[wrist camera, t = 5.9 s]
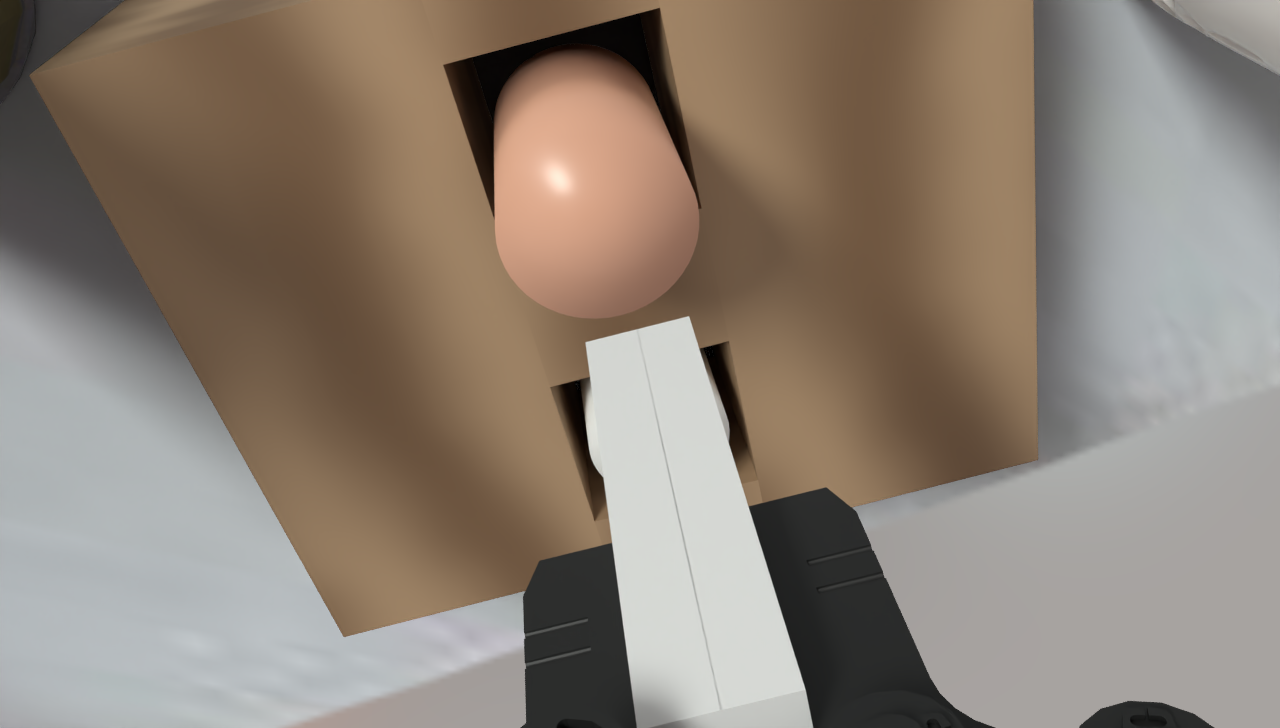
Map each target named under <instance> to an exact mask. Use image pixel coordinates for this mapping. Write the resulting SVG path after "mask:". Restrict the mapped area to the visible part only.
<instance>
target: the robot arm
mask: <svg viewBox="0 0 1280 728" xmlns="http://www.w3.org/2000/svg"><path fill="white" fill-rule="evenodd" d="M585 343H586V350H587V358H588V365H589V373H590V380H591V388H592V395H593V403H594V410H595V418H596V425H597V433H598V440H599V448H600V455H601V463H602V470H603V477H604V485H605V492H606V500H607V507H608V515H609V522H610V530H611V537H612V543H609V544H605V545H601V546H597V547H593V548H589V549H585V550H581V551H577V552H573V553H569V554H565V555H561V556H557V557H552V558H548V559H544V560H540V561H539V562H538V565H537V567H536V569H535V571H534V573H533V576H532V578H531V580H530V582H529V585H528V587H527V589H526V591H525V593H524V596H523V608H524V633H525V639H524V649H525V663H526V669H525V685H526V686H525V687H526V688H525V689H526V724H525V725H523V726H522V727H521V728H995V727H992V726H989V725H986V724H984V723H981V722H978V721H975V720H973V719H972V718H970V717H969V716H967V715H965V714H964V713H962V712H960V711H959V710H957V709H955V708H954V707H953V706H952V705H951V704H950V703H949V702H948V701H947V700H946V699H945V698H944V697H943V696H942V695H941V694H940V693H939V691H938V690H937V688H936V686H935V685H934V683H933V682H932V680H931V678H930V676H929V674H928V672H927V670H926V668H925V665H924V663H923V661H922V658H921V656H920V654H919V652H918V649H917V647H916V645H915V643H914V640H913V638H912V636H911V634H910V631H909V629H908V627H907V625H906V622H905V620H904V618H903V616H902V613H901V611H900V609H899V607H898V604H897V603H896V600H895V598H894V596H893V593H892V591H891V589H890V587H889V584H888V582H887V580H886V578H884V575H883V571H882V569H881V566H880V564H879V562H878V560H877V558H876V555H875V553H874V551H872V548H871V544H870V542H869V539H868V537H867V535H866V533H865V530H864V528H863V526H862V524H861V521H860V519H859V517H858V515H857V512H856V511H855V510H854V509H852V508H851V507H850V506H849V505H848V504H846V503H845V502H844V501H843V500H841V499H840V498H839V497H838V496H837V495H835V494H834V493H833V492H832V491H830V490H829V489H828V488H827V487H825V488H821V489H817V490H813V491H809V492H805V493H801V494H797V495H792V496H788V497H784V498H780V499H776V500H772V501H768V502H764V503H760V504H756V505H752V506H748V504H747V500H746V497H745V494H744V491H743V488H742V484H741V481H740V478H739V475H738V472H737V468H736V465H735V462H734V459H733V455H732V452H731V449H730V446H729V443H728V439H727V436H726V433H725V430H724V427H723V423H722V420H721V417H720V414H719V411H718V407H717V404H716V401H715V398H714V395H713V391H712V388H711V385H710V382H709V378H708V375H707V372H706V369H705V366H704V362H703V359H702V356H701V353H700V350H699V346H698V343H697V340H696V337H695V334H694V330H693V327H692V324H691V321H690V318H689V316H688V317H684V318H680V319H676V320H672V321H668V322H664V323H660V324H656V325H652V326H648V327H644V328H640V329H636V330H632V331H628V332H624V333H620V334H616V335H612V336H608V337H604V338H600V339H596V340H592V341H588V342H585ZM1079 728H1214V727H1212V726H1211V725H1209V724H1208V723H1206V722H1205V721H1204V720H1202V719H1201V718H1199V717H1198V716H1196V715H1195V714H1193V713H1190V712H1187V711H1184V710H1181V709H1178V708H1175V707H1172V706H1169V705H1167V704H1164V703H1157V702H1137V701H1127V702H1124V703H1120V704H1117V705H1113V706H1109V707H1106V708H1102V709H1100V710H1099V711H1097V712H1096V713H1095V714H1094V715H1093V716H1091V717H1090V718H1089V719H1088V720H1086V721H1085V722H1084V723H1083V724H1081V725H1080V727H1079Z"/></svg>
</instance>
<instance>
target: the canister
mask: <svg viewBox="0 0 1280 728" xmlns="http://www.w3.org/2000/svg"><path fill="white" fill-rule="evenodd" d="M35 31H36V29H35V11H34V0H0V104H1V103H2V102H3V100H4V99H5V98H6V97H7V95H8V94H9V93H10V91H11V90H12V88H13V87H14V85H15V84H16V82H17V81H18V79H19V78H20V76H21V73H22V70H23V67H24V64H25V61H26V58H27V55H28V52H29V49H30V46H31V43H32V40H33V37H34V34H35Z"/></svg>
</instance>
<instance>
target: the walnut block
mask: <svg viewBox="0 0 1280 728" xmlns="http://www.w3.org/2000/svg"><path fill="white" fill-rule="evenodd" d="M638 13H639V14H640V19H641V23H642V28H643V33H644V37H645V42H646V46H647V51H648V55H649V60H650V65H651V69H652V74H653V78H654V83H655V87H656V92H657V96H658V101H659V106H660V110H661V115H662V118H663V120H664V123H665V125H666V127H667V130H668V132H669V134H670V137H671V139H672V141H673V143H674V146H675V148H676V150H677V153H678V155H679V157H680V160H681V162H682V164H683V167H684V169H685V171H686V174H687V176H688V178H689V180H690V183H691V185H692V187H693V190H694V192H695V196H696V199H697V203H698V209H699V233H698V240H697V243H696V247H695V250H694V253H693V255H692V258H691V260H690V262H689V264H688V266H687V267H686V269H685V271H684V272H683V274H682V275H681V276H680V278H679V279H678V280H677V281H676V283H675V284H674V285H673V286H672V287H671V288H670V289H669V290H668V291H667V292H665V293H664V294H663V295H661V296H660V297H659V298H658V299H656V300H655V301H653V302H651V303H650V304H648V305H646V306H644V307H642V308H640V309H638V310H636V311H633V312H630V313H627V314H624V315H620V316H615V317H610V318H599V319H590V318H578V317H572V316H568V315H564V314H560V313H558V312H555V311H553V310H550V309H548V308H546V307H544V306H542V305H540V304H539V303H537V302H535V301H534V300H533V299H531V298H530V297H529V296H527V295H526V294H525V293H524V292H523V291H522V290H521V289H520V288H519V287H518V286H517V285H516V284H515V282H514V281H513V280H512V279H511V277H510V276H509V274H508V272H507V271H506V269H505V267H504V265H503V263H502V260H501V258H500V256H499V252H498V248H497V244H496V236H495V199H494V125H493V122H492V118H491V115H490V112H489V109H488V106H487V103H486V99H485V96H484V93H483V90H482V87H481V83H480V80H479V77H478V74H477V71H476V68H475V64H474V61H473V58H472V57H475V56H478V55H482V54H486V53H490V52H494V51H497V50H501V49H505V48H509V47H512V46H516V45H520V44H524V43H528V42H531V41H535V40H539V39H543V38H547V37H550V36H554V35H558V34H562V33H566V32H569V31H573V30H577V29H581V28H585V27H588V26H592V25H596V24H600V23H604V22H607V21H611V20H615V19H619V18H623V17H626V16H630V15H634V14H638ZM29 76H30V78H31V80H32V82H33V83H34V85H35V87H36V89H37V91H38V92H39V94H40V96H41V98H42V99H43V101H44V103H45V105H46V107H47V108H48V110H49V112H50V114H51V116H52V117H53V119H54V121H55V123H56V124H57V126H58V128H59V130H60V132H61V133H62V135H63V137H64V139H65V140H66V142H67V144H68V146H69V148H70V149H71V151H72V153H73V155H74V157H75V158H76V160H77V162H78V164H79V165H80V167H81V169H82V171H83V173H84V174H85V176H86V178H87V180H88V182H89V183H90V185H91V187H92V189H93V190H94V192H95V194H96V196H97V198H98V199H99V201H100V203H101V205H102V206H103V208H104V210H105V212H106V214H107V215H108V217H109V219H110V221H111V223H112V224H113V226H114V228H115V230H116V231H117V233H118V235H119V237H120V239H121V240H122V242H123V244H124V246H125V248H126V249H127V251H128V253H129V255H130V256H131V258H132V260H133V262H134V264H135V265H136V267H137V269H138V271H139V272H140V274H141V276H142V278H143V280H144V281H145V283H146V285H147V287H148V289H149V290H150V292H151V294H152V296H153V297H154V299H155V301H156V303H157V305H158V306H159V308H160V310H161V312H162V314H163V315H164V317H165V319H166V321H167V322H168V324H169V326H170V328H171V330H172V331H173V333H174V335H175V337H176V338H177V340H178V342H179V344H180V346H181V347H182V349H183V351H184V353H185V355H186V356H187V358H188V360H189V362H190V363H191V365H192V367H193V369H194V371H195V372H196V374H197V376H198V378H199V380H200V381H201V383H202V385H203V387H204V388H205V390H206V392H207V394H208V396H209V397H210V399H211V401H212V403H213V404H214V406H215V408H216V410H217V412H218V413H219V415H220V417H221V419H222V421H223V422H224V424H225V426H226V428H227V429H228V431H229V433H230V435H231V437H232V438H233V440H234V442H235V444H236V446H237V447H238V449H239V451H240V453H241V454H242V456H243V458H244V460H245V462H246V463H247V465H248V467H249V469H250V471H251V472H252V474H253V476H254V478H255V479H256V481H257V483H258V485H259V487H260V488H261V490H262V492H263V494H264V495H265V497H266V499H267V501H268V503H269V504H270V506H271V508H272V510H273V512H274V513H275V515H276V517H277V519H278V520H279V522H280V524H281V526H282V528H283V529H284V531H285V533H286V535H287V537H288V538H289V540H290V542H291V544H292V545H293V547H294V549H295V551H296V553H297V554H298V556H299V558H300V560H301V561H302V563H303V565H304V567H305V569H306V570H307V572H308V574H309V576H310V578H311V579H312V581H313V583H314V585H315V586H316V588H317V590H318V592H319V594H320V595H321V597H322V599H323V601H324V603H325V604H326V606H327V608H328V610H329V611H330V613H331V615H332V617H333V619H334V620H335V622H336V624H337V626H338V627H339V629H340V631H341V633H342V635H343V636H344V637H346V636H350V635H354V634H358V633H362V632H366V631H370V630H374V629H377V628H381V627H385V626H389V625H393V624H397V623H401V622H405V621H409V620H413V619H417V618H421V617H424V616H428V615H432V614H436V613H440V612H444V611H448V610H452V609H456V608H460V607H464V606H468V605H472V604H475V603H479V602H483V601H487V600H491V599H495V598H499V597H503V596H507V595H511V594H515V593H519V592H522V591H526V589H527V587H528V585H529V582H530V580H531V578H532V576H533V573H534V571H535V569H536V567H537V565H538V562H539V561H540V560H544V559H548V558H552V557H557V556H561V555H565V554H569V553H573V552H577V551H581V550H585V549H589V548H593V547H597V546H601V545H605V544H609V543H612V537H611V530H610V522H609V515H608V507H607V500H606V492H605V485H604V477H603V476H602V475H601V474H600V473H599V472H598V470H597V469H596V467H595V465H594V464H593V461H592V459H591V455H590V451H589V444H588V437H587V430H586V422H585V415H584V408H583V401H582V393H581V391H578V392H577V388H576V385H575V382H574V381H576V380H580V379H584V378H587V377H590V373H589V365H588V358H587V350H586V343H585V342H588V341H592V340H596V339H600V338H604V337H608V336H612V335H616V334H620V333H624V332H628V331H632V330H636V329H640V328H644V327H648V326H652V325H656V324H660V323H664V322H668V321H672V320H676V319H680V318H684V317H688V316H689V318H690V321H691V324H692V327H693V330H694V334H695V337H696V340H697V343H698V346H699V349H700V348H704V347H707V346H711V345H712V348H713V352H714V357H710V358H707V360H708V363H709V366H710V369H711V371H712V374H713V377H714V380H715V383H716V386H717V389H718V392H719V395H720V398H721V401H722V404H723V407H724V410H725V413H726V416H727V419H728V422H729V429H730V430H729V441H728V443H729V446H730V449H731V452H732V455H733V459H734V462H735V465H736V468H737V472H738V475H739V478H740V481H741V484H742V488H743V491H744V494H745V497H746V500H747V504H748V506H752V505H756V504H760V503H764V502H768V501H772V500H776V499H780V498H784V497H788V496H792V495H797V494H801V493H805V492H809V491H813V490H817V489H821V488H825V487H827V488H828V489H829V490H830V491H832V492H833V493H834V494H835V495H837V496H838V497H839V498H840V499H841V500H843V501H844V502H845V503H846V504H848V505H849V506H850V507H851V508H852V507H855V506H859V505H863V504H867V503H871V502H875V501H879V500H883V499H887V498H891V497H895V496H899V495H902V494H906V493H910V492H914V491H918V490H922V489H926V488H930V487H934V486H938V485H942V484H946V483H949V482H953V481H957V480H961V479H965V478H969V477H973V476H977V475H981V474H985V473H989V472H993V471H997V470H1000V469H1004V468H1008V467H1012V466H1016V465H1020V464H1024V463H1028V462H1032V461H1036V460H1038V410H1037V312H1036V215H1035V117H1034V19H1033V0H125V1H123V2H122V3H121V4H119V5H118V6H117V7H116V8H114V9H113V10H112V11H110V12H109V13H108V14H107V15H105V16H104V17H103V18H102V19H100V20H99V21H98V22H96V23H95V24H94V25H93V26H91V27H90V28H89V29H87V30H86V31H85V32H84V33H82V34H81V35H80V36H79V37H77V38H76V39H75V40H73V41H72V42H71V43H70V44H68V45H67V46H66V47H64V48H63V49H62V50H61V51H59V52H58V53H57V54H55V55H54V56H53V57H52V58H50V59H49V60H48V61H47V62H45V63H44V64H43V65H41V66H40V67H39V68H38V69H36V70H35V71H34V72H32V73H31V74H30V75H29Z"/></svg>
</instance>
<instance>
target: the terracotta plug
mask: <svg viewBox="0 0 1280 728" xmlns="http://www.w3.org/2000/svg"><path fill="white" fill-rule="evenodd" d="M494 199H495V236H496V244H497V248H498V252H499V256H500V258H501V260H502V263H503V265H504V267H505V269H506V271H507V272H508V274H509V276H510V277H511V279H512V280H513V281H514V282H515V284H516V285H517V286H518V287H519V288H520V289H521V290H522V291H523V292H524V293H525V294H526V295H527V296H529V297H530V298H531V299H533V300H534V301H535V302H537V303H539V304H540V305H542V306H544V307H546V308H548V309H550V310H553V311H555V312H558V313H560V314H564V315H568V316H572V317H578V318H590V319H599V318H610V317H615V316H620V315H624V314H627V313H630V312H633V311H636V310H638V309H640V308H642V307H644V306H646V305H648V304H650V303H651V302H653V301H655V300H656V299H658V298H659V297H660V296H661V295H663V294H664V293H665V292H667V291H668V290H669V289H670V288H671V287H672V286H673V285H674V284H675V283H676V281H677V280H678V279H679V278H680V276H681V275H682V274H683V272H684V271H685V269H686V267H687V266H688V264H689V262H690V260H691V258H692V255H693V253H694V250H695V247H696V243H697V240H698V233H699V209H698V203H697V199H696V196H695V192H694V190H693V187H692V185H691V183H690V180H689V178H688V176H687V174H686V171H685V169H684V167H683V164H682V162H681V160H680V157H679V155H678V153H677V150H676V148H675V146H674V143H673V141H672V139H671V137H670V134H669V132H668V130H667V127H666V125H665V123H664V120H663V118H662V116H661V113H660V111H659V109H658V107H657V104H656V102H655V100H654V97H653V95H652V93H651V91H650V88H649V86H648V84H647V83H646V81H645V80H644V78H643V76H642V75H641V74H640V73H639V72H638V70H637V69H636V68H635V67H634V66H633V65H631V64H630V63H629V62H628V61H627V60H625V59H624V58H623V57H621V56H620V55H618V54H616V53H614V52H612V51H610V50H608V49H605V48H602V47H599V46H594V45H590V44H579V43H575V44H563V45H558V46H554V47H551V48H548V49H545V50H543V51H541V52H538V53H536V54H534V55H533V56H531V57H530V58H528V59H527V60H525V61H524V62H523V63H522V64H521V65H520V66H518V67H517V68H516V69H515V71H514V72H513V73H512V74H511V75H510V76H509V78H508V79H507V81H506V83H505V84H504V86H503V88H502V90H501V92H500V94H499V97H498V100H497V103H496V107H495V113H494Z"/></svg>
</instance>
